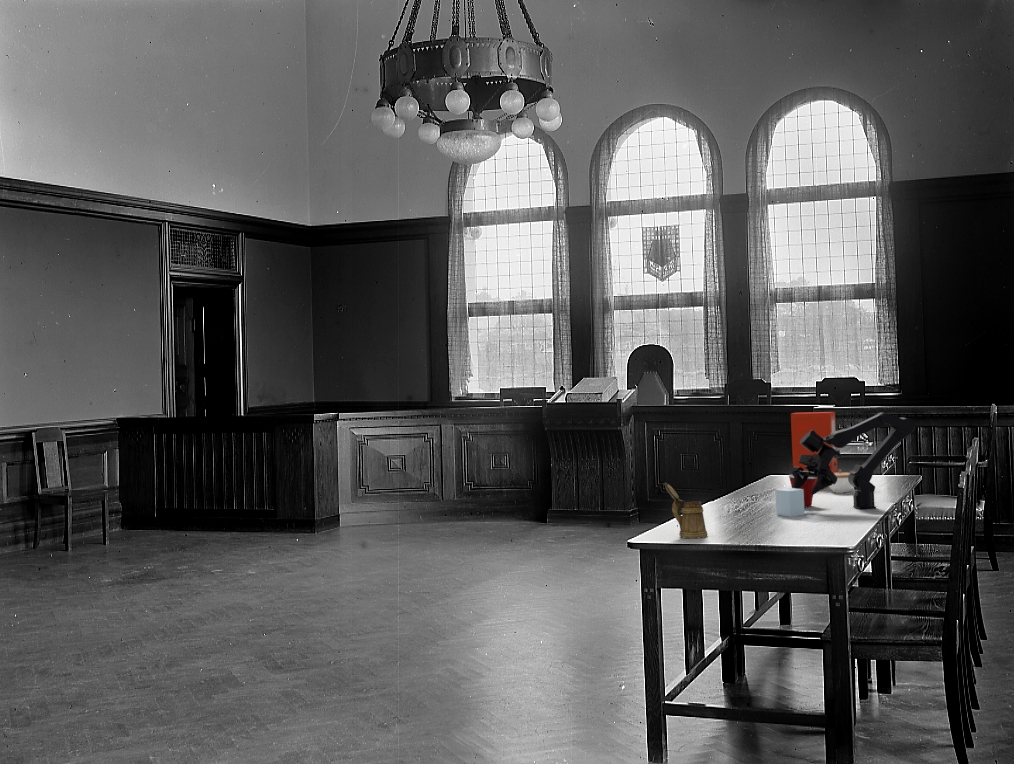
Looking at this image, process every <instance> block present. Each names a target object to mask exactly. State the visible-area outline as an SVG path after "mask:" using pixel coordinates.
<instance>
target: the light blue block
mask: <svg viewBox="0 0 1014 764" xmlns="http://www.w3.org/2000/svg"><path fill="white" fill-rule="evenodd" d="M774 492H775V514H776V516H784V517H791V518H792V517H796V516H804V515H805V507H804V491H803V489H796V488H792V487H786V488H785V487H784V488H778V489H775V490H774Z"/></svg>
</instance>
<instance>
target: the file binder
mask: <svg viewBox="0 0 1014 764" xmlns="http://www.w3.org/2000/svg"><path fill="white" fill-rule="evenodd" d="M790 423H791V425H790V427H791V451H792V467H802V468H803V469H804V470H805V471H808V469H806V468H805V466H806V465H803V464H801V463H799V459H800V456H801V454H803V455H813V454H818V452H819V451H818V452H815V451H814V452H813V453H812V452H810V451H809V450H808V449H806V448H805V447H804V446H803V445H801V444H800V441H801V439H802V438H803V436H805V435H806V434H807V433H808V432H810V430H813V431H815V432H816V433H817V434H818V435H819V436H820V437H822V438H823V437H827V436H829V435H830V434H831V433H832V432H835V431H837V430H836V429H837V428H836V427H837V426H836V424H837V423H836V412H835V411H824V412H823V411H821V412H819V411H818V412H816V411H815V412H814V411H813V412H811V411H810V412H792V413H790ZM824 444H825V443H824ZM826 445H827V446H829V447H830V446H831V445H830V444H826ZM831 447H833V448H834V449H835V450H837V451H838V448H837V447H834V446H831ZM829 466H830V467H831V468H830V469H831V470H832V471H833V473H835V472H839V469H838V458H837V459H836V458H833V460H832V461H831V463H830V465H829ZM817 480H818V478H817V479H816V481H815V484H816V482H817ZM814 486H815V485H814Z"/></svg>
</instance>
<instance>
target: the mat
mask: <svg viewBox="0 0 1014 764" xmlns="http://www.w3.org/2000/svg"><path fill="white" fill-rule="evenodd" d="M839 519H840V517H833V516H832V517H831V516H824V515H815V514H814V515H807V516H806V515H805V516H801V517H800V516H799V517H793V518H792V517H791V520H793V521H800V522H801V521H802V522H807V523H808V522H809V523H820V522H826V521H832V520H839Z"/></svg>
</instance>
